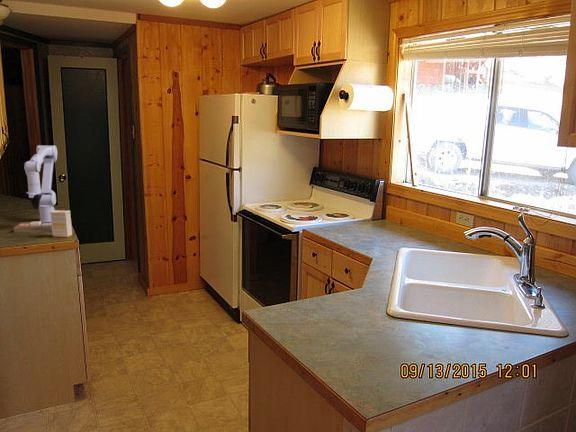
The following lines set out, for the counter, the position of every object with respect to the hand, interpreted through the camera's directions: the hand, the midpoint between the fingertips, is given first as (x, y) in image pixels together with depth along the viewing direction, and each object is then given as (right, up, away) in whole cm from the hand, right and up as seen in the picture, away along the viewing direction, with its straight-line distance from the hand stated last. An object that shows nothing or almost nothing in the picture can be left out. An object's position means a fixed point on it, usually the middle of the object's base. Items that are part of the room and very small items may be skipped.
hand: (36, 208), depth 263 cm
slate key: (+6, -10, 0) cm, 12 cm away
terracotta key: (-5, -10, -2) cm, 12 cm away
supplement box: (+21, -14, -14) cm, 29 cm away
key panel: (+1, -11, -1) cm, 11 cm away
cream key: (+1, -9, -1) cm, 9 cm away
